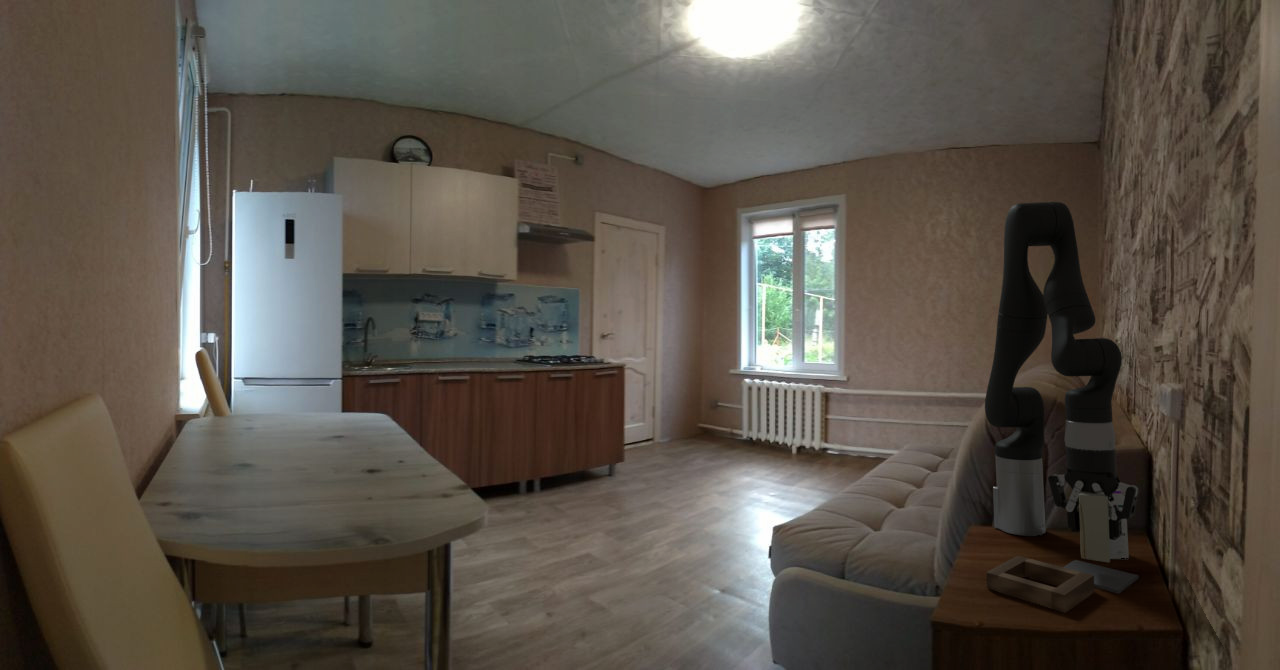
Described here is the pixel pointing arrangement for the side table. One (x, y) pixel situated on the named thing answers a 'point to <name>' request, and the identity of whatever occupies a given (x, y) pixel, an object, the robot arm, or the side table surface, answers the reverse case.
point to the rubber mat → (1104, 576)
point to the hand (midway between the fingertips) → (1094, 534)
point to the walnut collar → (1060, 598)
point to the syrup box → (1121, 544)
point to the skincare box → (1094, 527)
